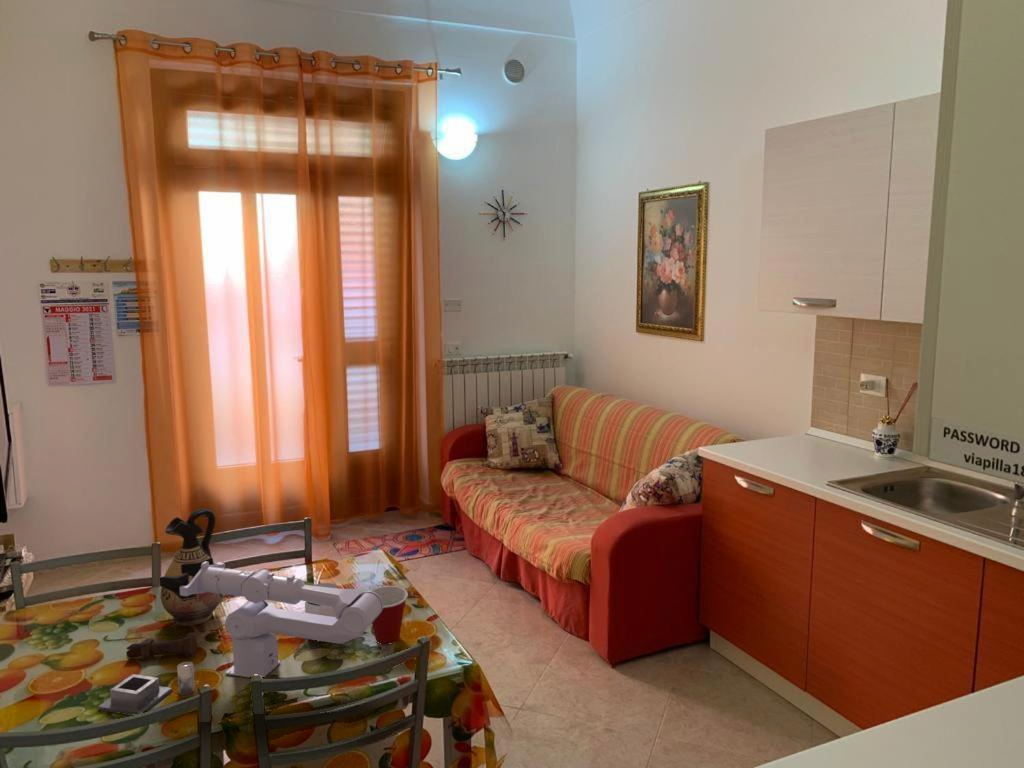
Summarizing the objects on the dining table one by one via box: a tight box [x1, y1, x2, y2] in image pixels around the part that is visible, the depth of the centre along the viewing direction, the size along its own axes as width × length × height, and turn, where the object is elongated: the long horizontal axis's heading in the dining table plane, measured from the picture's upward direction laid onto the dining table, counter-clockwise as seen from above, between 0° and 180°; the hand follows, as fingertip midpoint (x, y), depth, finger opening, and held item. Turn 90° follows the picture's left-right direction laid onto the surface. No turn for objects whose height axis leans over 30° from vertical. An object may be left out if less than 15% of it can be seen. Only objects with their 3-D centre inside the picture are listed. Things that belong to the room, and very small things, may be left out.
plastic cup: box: [370, 585, 409, 645], centre depth 188 cm, size 11×11×12 cm
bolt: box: [125, 632, 198, 661], centre depth 180 cm, size 6×5×15 cm
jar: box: [304, 582, 339, 642], centre depth 191 cm, size 9×8×12 cm
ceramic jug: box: [160, 507, 227, 627], centre depth 199 cm, size 17×15×30 cm
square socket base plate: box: [97, 673, 173, 716], centre depth 161 cm, size 10×10×4 cm
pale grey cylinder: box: [176, 661, 196, 696], centre depth 165 cm, size 3×3×6 cm
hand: (171, 574), depth 176 cm, fingers open, 7 cm apart
